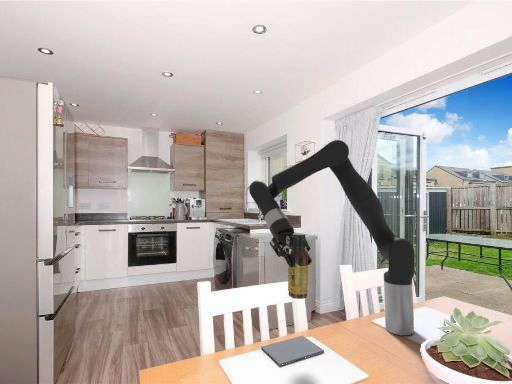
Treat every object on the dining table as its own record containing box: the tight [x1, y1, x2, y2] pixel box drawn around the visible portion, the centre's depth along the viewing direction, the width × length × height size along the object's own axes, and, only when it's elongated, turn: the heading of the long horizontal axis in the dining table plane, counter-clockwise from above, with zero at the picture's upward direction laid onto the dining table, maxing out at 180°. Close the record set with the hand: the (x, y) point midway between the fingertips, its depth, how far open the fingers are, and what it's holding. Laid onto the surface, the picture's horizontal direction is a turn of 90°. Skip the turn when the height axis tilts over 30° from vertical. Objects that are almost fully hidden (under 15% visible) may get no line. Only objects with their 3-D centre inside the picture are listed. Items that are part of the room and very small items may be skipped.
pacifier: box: [443, 314, 456, 333], centre depth 98 cm, size 7×6×6 cm
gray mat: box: [261, 335, 325, 366], centre depth 86 cm, size 16×11×1 cm
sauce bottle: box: [287, 232, 309, 300], centre depth 88 cm, size 6×6×20 cm
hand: (301, 264), depth 86 cm, fingers closed on sauce bottle, 6 cm apart
